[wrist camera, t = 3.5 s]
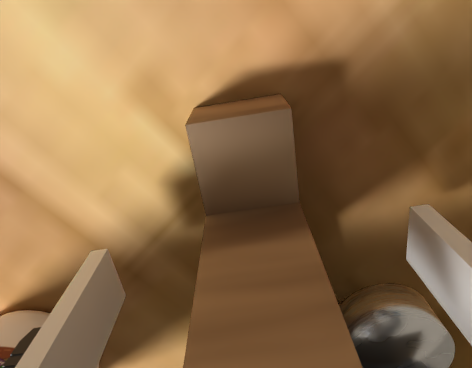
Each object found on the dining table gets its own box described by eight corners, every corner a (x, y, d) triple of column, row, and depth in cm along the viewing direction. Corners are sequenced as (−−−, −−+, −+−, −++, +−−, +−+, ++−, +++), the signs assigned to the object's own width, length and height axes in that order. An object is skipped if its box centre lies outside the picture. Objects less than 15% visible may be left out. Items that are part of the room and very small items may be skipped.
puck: (326, 291, 20) (338, 328, 17) (427, 273, 19) (456, 309, 17) (337, 359, 22) (350, 400, 20) (428, 345, 22) (453, 386, 19)
